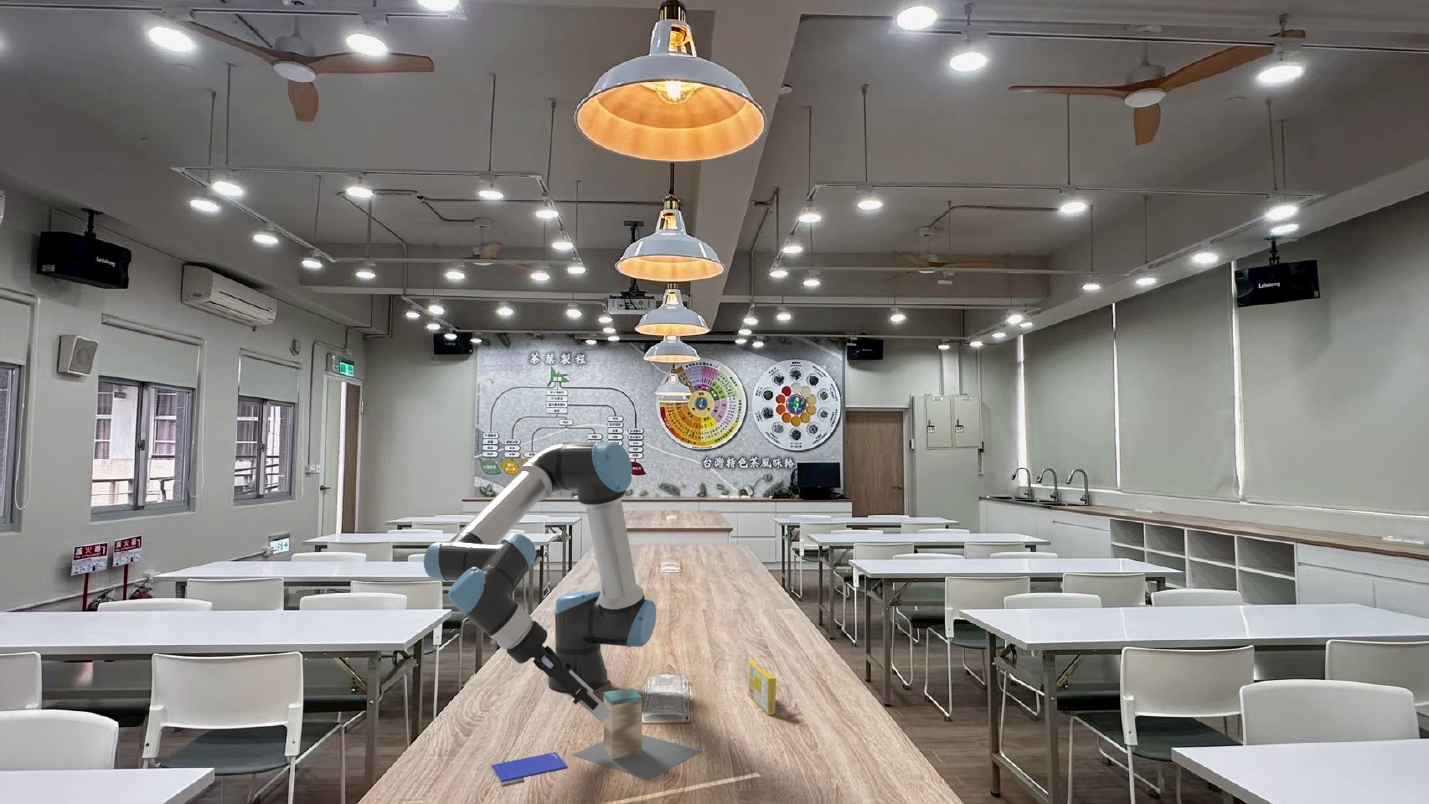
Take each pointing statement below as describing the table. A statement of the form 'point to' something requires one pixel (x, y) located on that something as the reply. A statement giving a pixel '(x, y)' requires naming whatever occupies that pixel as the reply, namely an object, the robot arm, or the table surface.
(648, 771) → the slate mat
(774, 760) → the table surface
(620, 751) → the maple block
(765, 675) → the candy box
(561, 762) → the hard drive
